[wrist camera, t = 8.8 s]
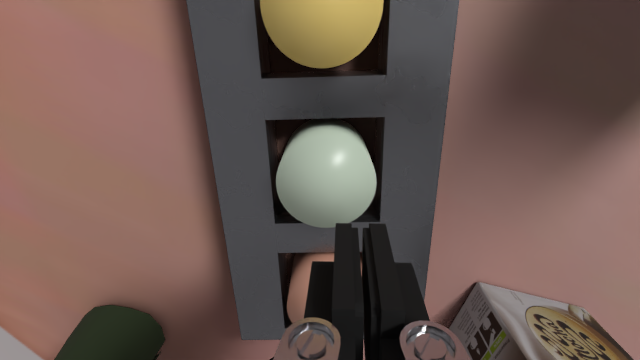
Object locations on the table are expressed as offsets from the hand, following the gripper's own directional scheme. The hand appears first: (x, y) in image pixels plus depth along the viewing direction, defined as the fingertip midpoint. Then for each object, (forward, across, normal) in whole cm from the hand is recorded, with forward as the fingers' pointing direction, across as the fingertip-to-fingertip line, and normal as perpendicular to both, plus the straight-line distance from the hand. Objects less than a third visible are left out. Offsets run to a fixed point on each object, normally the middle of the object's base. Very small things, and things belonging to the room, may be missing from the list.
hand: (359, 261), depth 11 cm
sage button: (+10, +2, 0) cm, 10 cm away
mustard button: (+10, +2, -8) cm, 13 cm away
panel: (+10, +2, 0) cm, 10 cm away
